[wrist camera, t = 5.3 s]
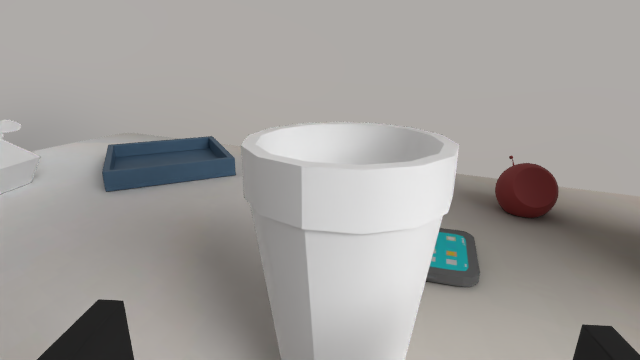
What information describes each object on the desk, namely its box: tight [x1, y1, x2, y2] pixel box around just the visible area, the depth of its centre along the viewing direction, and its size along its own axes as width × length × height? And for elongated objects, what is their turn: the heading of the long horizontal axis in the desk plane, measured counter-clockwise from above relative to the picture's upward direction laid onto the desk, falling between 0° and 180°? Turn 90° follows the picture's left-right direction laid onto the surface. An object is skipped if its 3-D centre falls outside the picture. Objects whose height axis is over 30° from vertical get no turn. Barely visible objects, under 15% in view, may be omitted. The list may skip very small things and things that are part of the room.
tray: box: [102, 136, 236, 192], centre depth 58 cm, size 17×17×3 cm
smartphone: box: [426, 228, 480, 287], centre depth 33 cm, size 9×1×15 cm
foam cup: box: [241, 122, 459, 360], centre depth 19 cm, size 10×9×13 cm
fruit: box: [495, 156, 558, 218], centre depth 43 cm, size 6×6×8 cm
